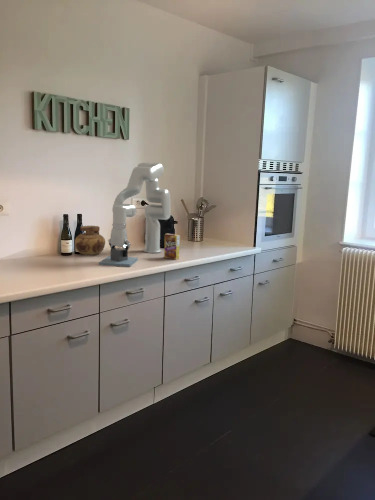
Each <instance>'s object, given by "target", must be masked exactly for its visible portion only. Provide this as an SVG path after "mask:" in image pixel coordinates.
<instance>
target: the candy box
mask: <svg viewBox="0 0 375 500" xmlns="http://www.w3.org/2000/svg"><path fill="white" fill-rule="evenodd" d="M180 239H181V235H180V234H175V233H165V234H164V247H163V248H164V251H163V252H164V255H163V258H164V259H172V260H176V261H177V260H179V259H180Z"/></svg>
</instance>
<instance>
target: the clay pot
mask: <svg viewBox="0 0 375 500" xmlns="http://www.w3.org/2000/svg"><path fill="white" fill-rule="evenodd" d="M79 228H80V231H81V232H83V233H80V234H78V235H77V236H76V237H75V239H74V247H75V249H76V251H77V252H78V253H79V254H81V255H82V256H83V255H84V256H97V255H100V254H101V253H103V251H104V248H105V247H106V239H105V237H104V236H102V235H101V234H100V226H98V225H82V226H81V225H80V227H79Z"/></svg>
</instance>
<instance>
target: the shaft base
mask: <svg viewBox="0 0 375 500" xmlns="http://www.w3.org/2000/svg"><path fill="white" fill-rule="evenodd" d="M138 261H139V257H134V256H132V257H131V256H128V260H125V261H120V262H118V261H114V260H111V255H108V256H106V257H105V258H104V259H102V260H100V261H99V262H98V265H99V266H109V267H110V266H111V267H123V268H124V267H125V268H127V267H128V268H130V267H132V266H133V265H134V264H135V263H137V262H138Z"/></svg>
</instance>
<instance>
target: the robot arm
mask: <svg viewBox="0 0 375 500" xmlns="http://www.w3.org/2000/svg"><path fill="white" fill-rule="evenodd" d="M164 172H165V168H164V166H163V164H162V163H161V162H160V163H159V162H140V163H138V164H137V166H135V167H134V168H133V169H132V171H131V173H130V177H129V179H128V183H127V186H126V187H125V188H124V189H123V190H121V191H120V192H119V193H118V194H117V195H116V197H115V199H114V201H113V204H112V210H111V211H112V225H111V226H112V228H111V231H110V238H108V239H107V241H108V244H109V246H110V247H109V248H110V250H111V249H113V248H123V249H124V250H123V257H127V254H128V255H129V249H130V248H131V245H132V243H131V242H130V241H129V240H128V238H129V237H128V231H127V218H131V217H132V218H133V217H134V216H136V215H137V211H138V210H137V207H136V206H135V205H134V204H129V203H124V202H125V201H126V200H127V199H129V198H132V197H134V196H137V195H138V194H140V193H141V191H142V188H143V185H145V197H146V201H147V202H149V203H150V204H147V205H146V206H144V207H145V208H144V217H145V248H142V251H143V252H144V253H149V254H150V253H151V254H159V253H162V252H163V249H162V248H161V246H160V245H161V243H160V242H161V241H160V240H161V223H160V221H159V220H165V221H167V220H169V219H170V218H171V216H172V215H171V214H172V208H171V207H172V205H171V192H170V191H169V190H168V189H167V188H161V187H160V186H159V185H160V184H159V178H161V177H162V176H163V175H164ZM144 183H145V184H144Z"/></svg>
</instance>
